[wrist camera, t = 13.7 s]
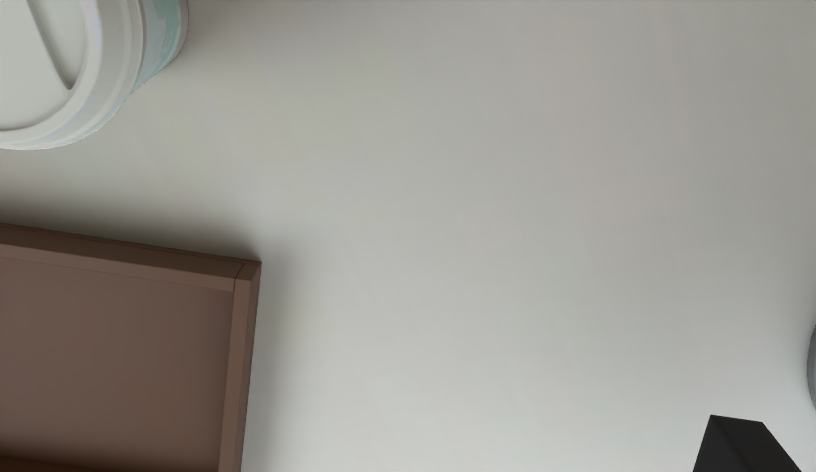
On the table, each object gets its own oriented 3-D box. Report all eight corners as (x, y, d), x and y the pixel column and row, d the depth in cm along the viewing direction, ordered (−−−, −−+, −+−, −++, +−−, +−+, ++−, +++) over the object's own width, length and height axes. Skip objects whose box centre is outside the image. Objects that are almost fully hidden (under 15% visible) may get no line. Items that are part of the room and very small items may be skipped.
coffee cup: (195, 129, 35) (92, 196, 24) (19, 70, 34) (-175, 112, 23) (239, -51, 33) (147, -71, 21) (50, -118, 32) (-152, -177, 20)
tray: (261, 261, 38) (251, 280, 35) (238, 494, 42) (227, 524, 40) (-66, 212, 37) (-99, 228, 34) (-53, 454, 41) (-81, 483, 39)
